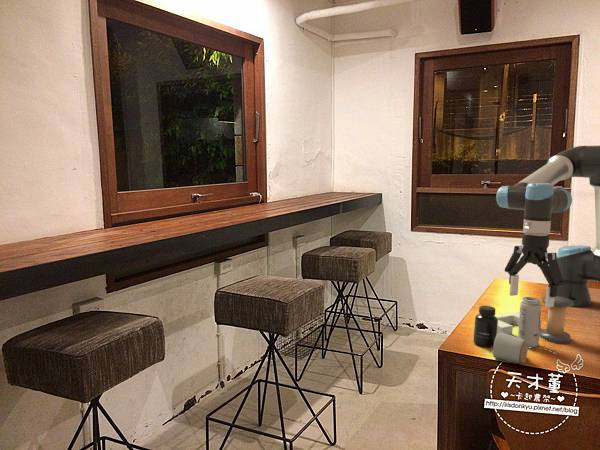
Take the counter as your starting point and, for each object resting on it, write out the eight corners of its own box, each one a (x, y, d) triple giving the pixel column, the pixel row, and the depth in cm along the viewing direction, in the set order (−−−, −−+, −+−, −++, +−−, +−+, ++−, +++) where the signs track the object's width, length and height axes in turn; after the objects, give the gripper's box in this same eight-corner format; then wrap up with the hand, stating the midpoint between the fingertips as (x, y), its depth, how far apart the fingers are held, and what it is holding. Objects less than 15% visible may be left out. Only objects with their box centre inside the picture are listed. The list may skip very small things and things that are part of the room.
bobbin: (552, 331, 169) (555, 294, 167) (576, 340, 160) (579, 302, 159) (533, 335, 165) (536, 297, 163) (556, 344, 157) (559, 305, 155)
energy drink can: (538, 350, 153) (542, 303, 151) (517, 346, 155) (520, 300, 153) (538, 343, 158) (541, 297, 156) (517, 340, 161) (520, 295, 159)
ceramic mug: (521, 368, 140) (523, 342, 139) (491, 360, 145) (493, 335, 144) (530, 357, 148) (532, 332, 147) (502, 350, 153) (504, 326, 152)
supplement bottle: (480, 348, 154) (482, 311, 152) (469, 340, 160) (471, 304, 159) (500, 347, 155) (503, 310, 153) (489, 339, 161) (491, 303, 160)
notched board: (517, 320, 180) (518, 312, 180) (540, 328, 171) (541, 320, 171) (479, 326, 173) (480, 318, 173) (501, 336, 164) (502, 327, 164)
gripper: (495, 228, 161) (491, 291, 164) (563, 240, 139) (556, 313, 142) (513, 227, 164) (508, 289, 167) (581, 239, 142) (575, 311, 145)
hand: (530, 300), depth 154 cm, fingers open, 13 cm apart
